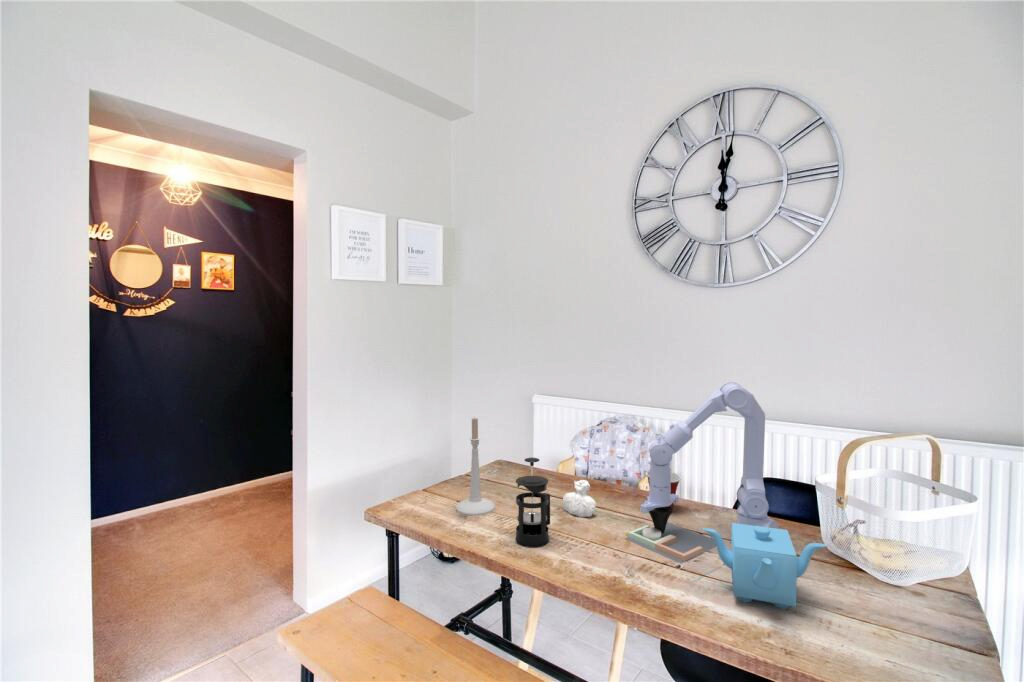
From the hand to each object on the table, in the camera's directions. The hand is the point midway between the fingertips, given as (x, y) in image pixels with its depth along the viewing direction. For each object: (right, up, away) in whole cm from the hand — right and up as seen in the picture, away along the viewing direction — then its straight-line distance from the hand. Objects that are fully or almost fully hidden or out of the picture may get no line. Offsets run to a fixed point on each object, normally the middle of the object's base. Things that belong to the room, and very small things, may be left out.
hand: (659, 532), depth 143 cm
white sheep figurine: (-20, -1, +18) cm, 27 cm away
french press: (-36, -2, -1) cm, 36 cm away
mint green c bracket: (-3, -2, -2) cm, 4 cm away
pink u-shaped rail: (+2, -2, -10) cm, 10 cm away
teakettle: (+14, -3, -30) cm, 33 cm away
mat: (+3, -2, -4) cm, 5 cm away
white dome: (-3, -1, -2) cm, 4 cm away
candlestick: (-53, -1, +23) cm, 58 cm away
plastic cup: (+7, -1, +19) cm, 21 cm away
